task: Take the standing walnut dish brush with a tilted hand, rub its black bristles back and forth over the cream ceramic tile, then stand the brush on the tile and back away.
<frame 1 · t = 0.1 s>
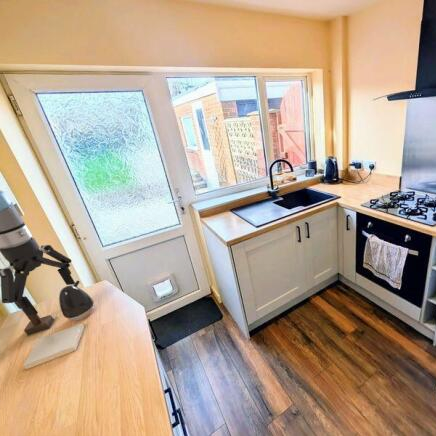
hand: (53, 297, 81), 23 cm above the countertop, tool pointing down, fingers open, 13 cm apart
tile: (57, 346, 91), on the countertop
black pear: (83, 314, 105), on the countertop
brush: (41, 327, 101), on the countertop
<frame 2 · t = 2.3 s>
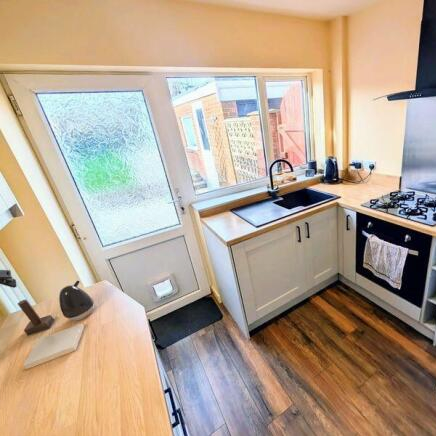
nothing on the countertop moved.
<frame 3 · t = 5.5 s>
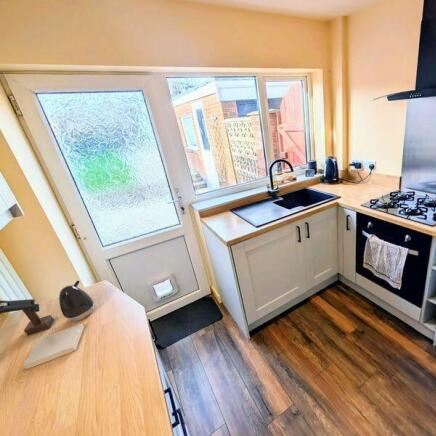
hand: (14, 315, 90), 13 cm above the countertop, tool tilted 45°, fingers open, 13 cm apart
nothing on the countertop moved.
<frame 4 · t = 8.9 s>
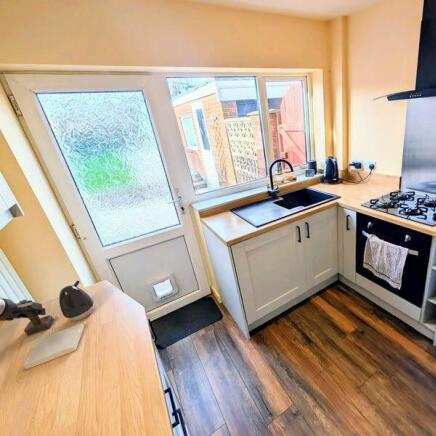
hand: (39, 313, 102), 5 cm above the countertop, tool tilted 45°, fingers closed on brush, 3 cm apart
brush: (41, 327, 101), on the countertop, touching gripper
everything else where it was.
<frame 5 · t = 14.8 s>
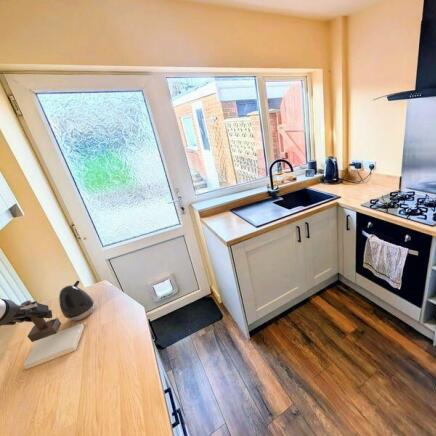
hand: (45, 316, 89), 12 cm above the countertop, tool tilted 45°, fingers closed on brush, 3 cm apart
brush: (47, 332, 88), point 7 cm above the countertop, touching gripper
everything else where it was.
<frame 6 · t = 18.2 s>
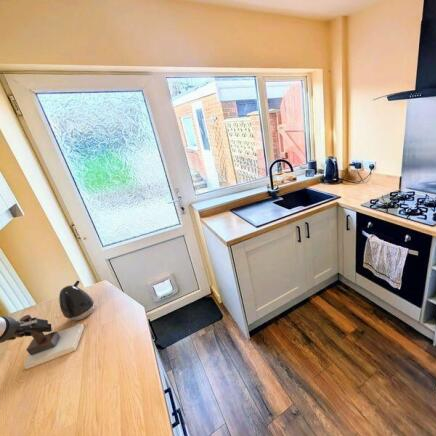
hand: (44, 329, 91), 6 cm above the countertop, tool tilted 45°, fingers closed on brush, 3 cm apart
brush: (46, 345, 89), point 2 cm above the countertop, touching gripper
everything else where it was.
when the fingers open (6 cm above the countertop, at t = 20.8 s): brush stays where it is, resting on tile.
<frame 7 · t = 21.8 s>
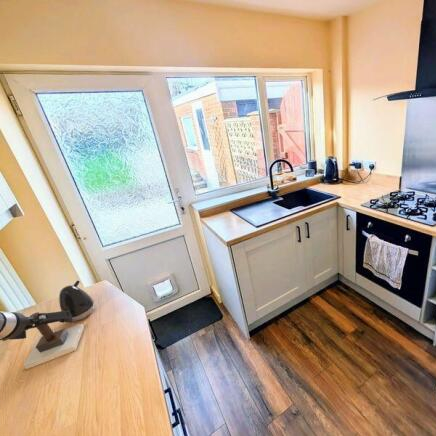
hand: (48, 326, 90), 8 cm above the countertop, tool tilted 45°, fingers open, 13 cm apart
brush: (54, 343, 90), point 2 cm above the countertop, touching tile
everything else where it was.
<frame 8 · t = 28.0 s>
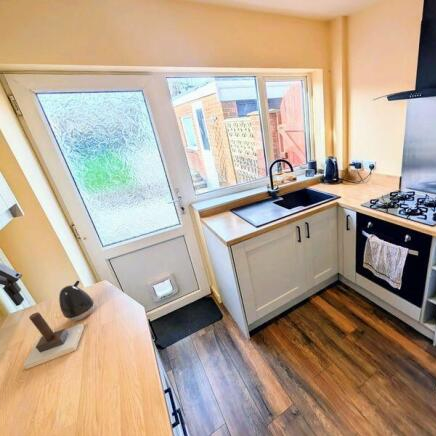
nothing on the countertop moved.
at the end: brush inside the target area on the tile (0.2 cm from its centre), point 2.0 cm above the tile's base; brush tilted 0°; the gripper is holding nothing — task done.
